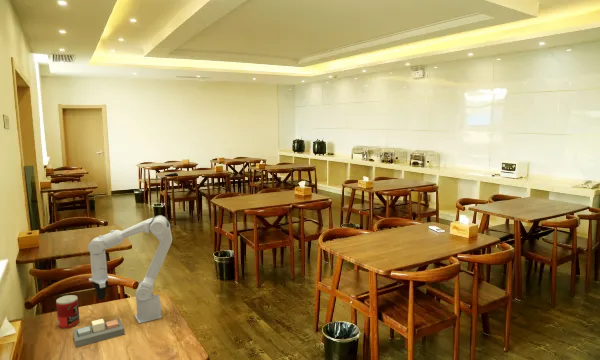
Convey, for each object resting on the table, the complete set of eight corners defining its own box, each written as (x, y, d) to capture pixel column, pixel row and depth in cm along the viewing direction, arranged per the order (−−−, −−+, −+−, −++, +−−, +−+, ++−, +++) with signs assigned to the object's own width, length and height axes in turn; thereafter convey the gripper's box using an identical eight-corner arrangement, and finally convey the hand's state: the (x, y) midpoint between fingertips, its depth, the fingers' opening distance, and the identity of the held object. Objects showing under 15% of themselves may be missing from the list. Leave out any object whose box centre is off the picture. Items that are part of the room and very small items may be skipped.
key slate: (89, 333, 162) (89, 326, 161) (90, 337, 158) (90, 330, 158) (78, 336, 159) (77, 329, 159) (79, 341, 156) (78, 333, 156)
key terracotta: (117, 326, 167) (116, 319, 167) (119, 330, 164) (118, 323, 163) (106, 329, 165) (105, 322, 164) (108, 333, 162) (107, 326, 161)
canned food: (70, 329, 166) (68, 303, 164) (53, 327, 168) (51, 302, 166) (84, 320, 173) (82, 295, 172) (67, 318, 175) (65, 294, 173)
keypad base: (119, 323, 170) (119, 318, 170) (124, 334, 162) (124, 328, 162) (73, 335, 161) (72, 329, 161) (75, 347, 153) (75, 341, 153)
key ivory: (103, 325, 164) (102, 318, 164) (104, 329, 161) (104, 322, 160) (92, 328, 162) (91, 321, 161) (93, 332, 159) (92, 325, 158)
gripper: (85, 263, 172) (88, 294, 174) (90, 274, 160) (93, 307, 162) (104, 260, 176) (106, 290, 178) (110, 270, 164) (112, 303, 166)
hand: (101, 298), depth 170 cm, fingers closed
